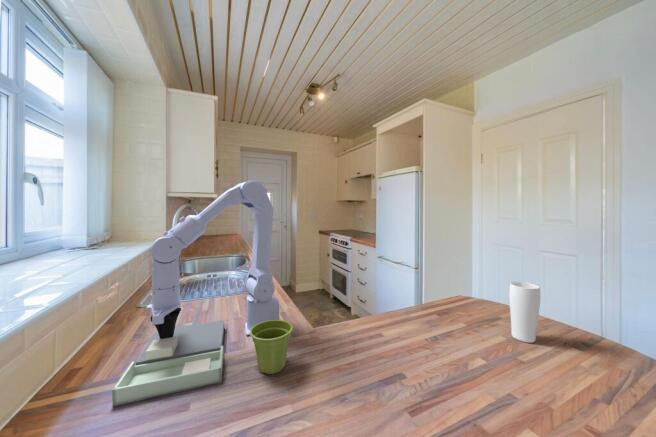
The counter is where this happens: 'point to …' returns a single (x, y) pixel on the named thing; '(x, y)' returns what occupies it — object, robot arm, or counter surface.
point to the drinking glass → (524, 310)
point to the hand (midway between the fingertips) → (167, 341)
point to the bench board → (191, 341)
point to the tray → (165, 378)
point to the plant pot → (271, 344)
